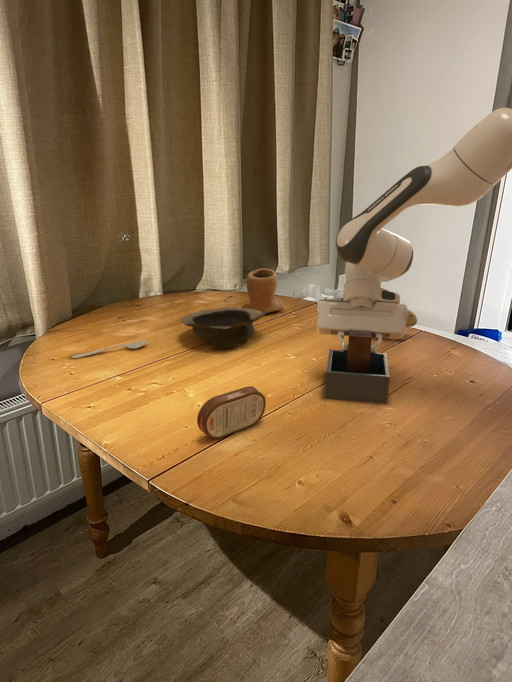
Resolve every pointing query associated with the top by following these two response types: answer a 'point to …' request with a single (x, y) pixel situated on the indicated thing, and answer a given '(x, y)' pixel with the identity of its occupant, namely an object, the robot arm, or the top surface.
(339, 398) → the gray open box
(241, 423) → the tin
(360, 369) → the block
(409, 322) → the toy sheep
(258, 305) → the terracotta vase
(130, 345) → the spoon
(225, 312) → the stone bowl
